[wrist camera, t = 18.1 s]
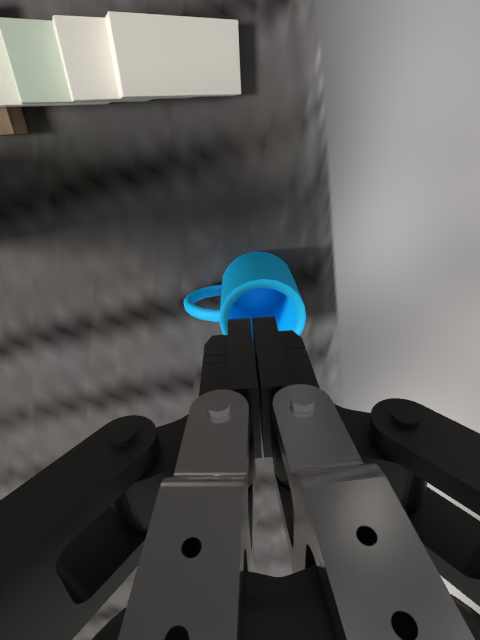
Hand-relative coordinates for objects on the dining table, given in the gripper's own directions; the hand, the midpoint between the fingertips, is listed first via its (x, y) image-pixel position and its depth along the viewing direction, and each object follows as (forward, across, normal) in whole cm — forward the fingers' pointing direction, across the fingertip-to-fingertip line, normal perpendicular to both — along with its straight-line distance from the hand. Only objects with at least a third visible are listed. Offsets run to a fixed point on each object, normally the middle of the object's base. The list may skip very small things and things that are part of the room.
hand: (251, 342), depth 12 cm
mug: (+28, 0, +10) cm, 30 cm away
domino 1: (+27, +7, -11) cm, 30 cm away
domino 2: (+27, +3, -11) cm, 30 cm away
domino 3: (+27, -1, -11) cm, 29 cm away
